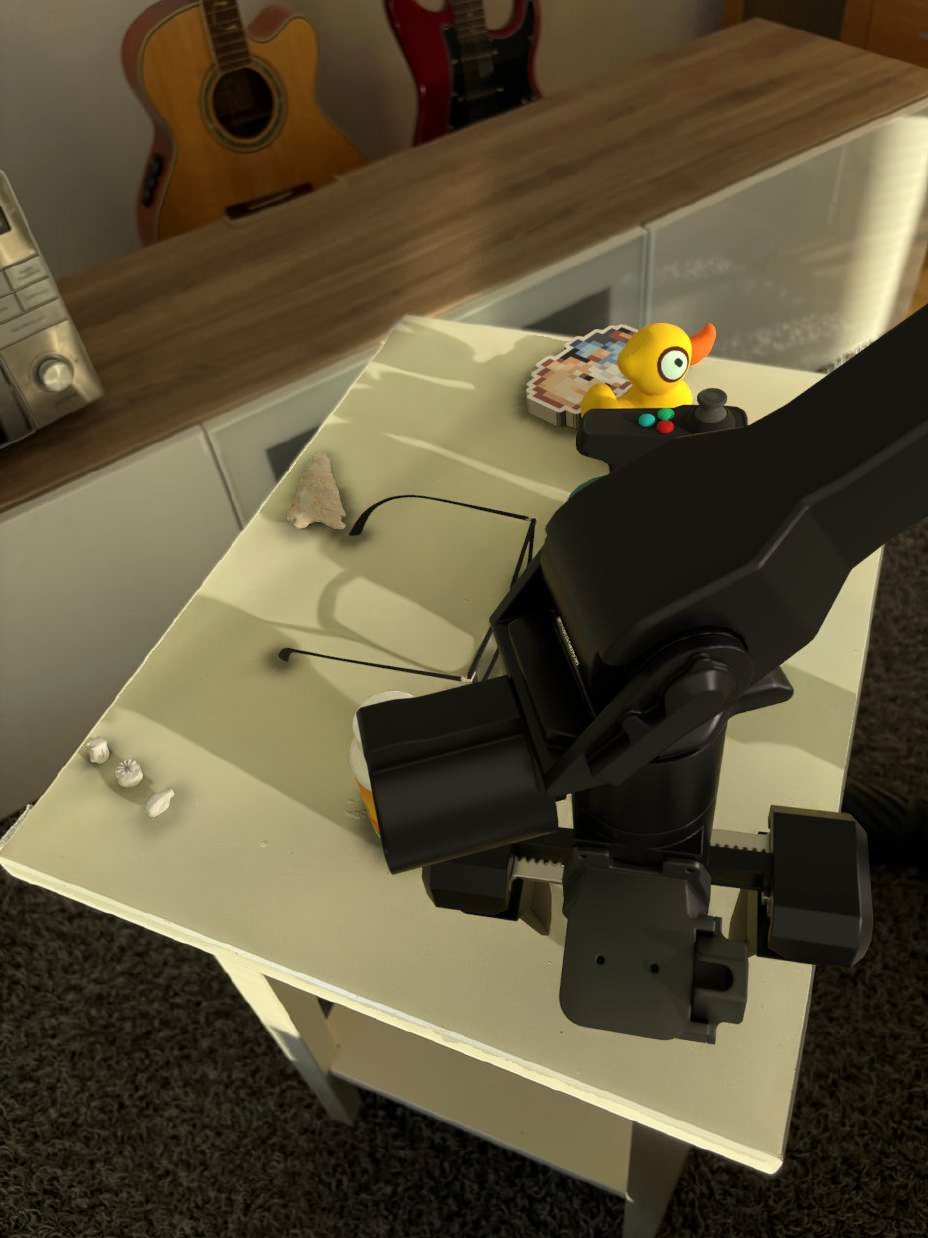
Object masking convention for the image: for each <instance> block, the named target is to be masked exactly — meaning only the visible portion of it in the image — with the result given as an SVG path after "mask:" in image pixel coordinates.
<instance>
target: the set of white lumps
mask: <svg viewBox="0 0 928 1238" xmlns="http://www.w3.org/2000/svg"><path fill="white" fill-rule="evenodd" d="M85 746H86V747H87V752H88V753H87V754H88V755H89V761H90V762H91V763H96V764H99V765H101V764H103V763H105V762H106V761H107V760H108V759H109V757H110V750H109V748H108V740H107V739H106V738H105V737H104V736H102V735H98V736H96V737H94V738H93V739H91V740H89V741H87V742H85ZM114 774H115V778H116V780H117V782H118V784H119V786H121V787H123V788H125V789H126V788H127V789H130V788H135V787H136V786H137V785H139V784H140V783H141V782H142V780H143V777H144V775H143V771H142V768H141V766H140V764H139V763H138V762H136V760H131V758H130V759H128V760H125V759H123V762H118V766H116V768H115V773H114ZM175 794H176V793H175V792H174V790H173V789H172V788H168V790H166V791H160V792H157V793H153V794H152V795H151V796H150V798H149V799H148V800H146V801H145V803H144V806H143V811H144V812H145V814H147V815H148V816H149V817H151V818H155V817H158V816H159V815H161V814H162V813H164V812H165V811H167V809H169V808H170V804H171V803H170V801H171V799H172V798H173V797H174V796H175Z"/></svg>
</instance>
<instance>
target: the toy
mask: <svg viewBox="0 0 928 1238" xmlns="http://www.w3.org/2000/svg"><path fill="white" fill-rule="evenodd" d="M639 330H640V329H637V328H634V327H632V326H630V325H627V324H624V323H619V324H618V325H615V324H611V325H608V326H607V327H605V328H603V329H599V328H596V329H593V330H592V331H590V332H589V333H587V334H586V335H584V336H581V335H577V336H575V337H573V338H572V339H570V340H568V341H567V342H566V343H564V344H563V350H562V351H561V352H559V353H558V354H556V355H552V354H550V355H547V356H546V357H544V358H543V359H541V360H540V361H538V362H537V363H535V365H534V367H535V368H534V369H535V370H533V371H531V373H530V380H529V381H527V383H526V390H525V394H526V395H525V396H526V405H527V412H528V413H529V414H531V415H533V416H536V417H537V418H540V419H541V420H543V421H545V422H548V423H550V424H552V425H554V426H556V427H559V428H563V427H565V426H568V427H570V428H573V429H576V430H577V429H578V426H579V423H580V421H581V419H582V417H581V402H582V399H583V397H584V395H585V394H586V392H587V391H588V389H589V388H590V387H591V386H593V385H595V384H598V383H603V384H606V385H608V386H609V387H610V388H611V390H612V391H613V393H614V395H615V397H616V398H618V397H621V396H623V395H624V394H625V393H626V391H627V390H628V389H629V388H630V387H631V386H633V385H632V384H631V383H630V382H629V380H628V379H627V378H626V376H624V375H623V374H622V373H621V372H620V370H619V368H618V365H617V358H618V355H619V353H620V352H621V351H622V349H623V348H624V347H625V345H626V343H627V342H628V341H629V339H630V338H631V337H632V336H633V335H634V334H635V333H636V332H637V331H639Z"/></svg>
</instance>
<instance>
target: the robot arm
mask: <svg viewBox="0 0 928 1238" xmlns="http://www.w3.org/2000/svg"><path fill="white" fill-rule="evenodd" d="M604 475H605V476H603V477H601V478H599V479H597V480H596V481H594V482H592V483H590V484H588V485H587V486H585V487H584V488H582V489H581V490H579V491H578V492H576V493H575V494H574V495H573V496H572V497H571V498H569V497H568V498H569V499H568V498H567V500H566V501H565V502H564V503H563V504H562V505H560V506H559V507H558V509H556V511H554V513H552V516H551V518H550V519H549V520H548V522H547V523H546V525H545V527H544V532H545V535H546V536H545V538H544V541H543V544H542V545H541V547H540V548H539V549H538V551H537V552H536V554H535V555H534V556H533V557H532V561H531V562H530V563H529V565H528V566H527V565H526V566H527V567H525V569H524V570H523V571H522V573H521V574H520V575H519V576H518V579H517V581H516V582H515V583H514V585H513V586H512V587H511V589H510V588H509V590H508V592H507V593H506V594H505V595H504V597H503V598H502V599H501V601H500V602H499V603H498V605H497V606H496V607H495V609H494V610H493V612H492V613H491V614H490V615H489V617H488V623H489V627H490V626H491V629H492V632H493V633H492V635H493V638H494V642H495V645H496V648H497V647H498V650H499V656H498V657H499V664H500V669H501V675H499V676H495V677H494V676H493V677H490V678H488V679H487V680H483V681H481V680H478V681H479V682H475V683H472V682H470V683H467V684H464V685H459V686H455V687H451V688H447V689H443V690H439V691H434V692H431V693H427V694H423V695H419V696H413V698H402V699H393V700H388V701H384V702H380V703H376V704H372V705H368V706H364V707H361V708H359V707H358V708H359V709H358V708H357V709H358V711H357V710H356V711H357V712H356V711H355V713H356V717H357V722H358V727H359V733H360V738H361V743H362V749H363V754H364V758H365V761H366V764H367V769H368V774H369V779H370V784H371V790H372V795H373V800H374V806H375V811H376V816H377V821H378V827H379V832H380V837H381V838H380V837H379V838H380V841H381V847H382V851H383V856H384V859H385V862H386V865H387V867H388V870H389V872H390V874H391V875H392V876H394V875H398V874H402V873H406V872H409V871H412V870H413V871H414V870H417V869H421V880H422V883H423V886H424V890H425V894H426V895H427V897H428V899H430V901H431V902H432V904H433V906H434V907H435V908H439V909H444V910H445V909H447V910H451V911H460V912H462V914H465V915H470V916H476V917H483V918H489V919H490V918H491V919H496V920H497V919H498V920H504V921H511V922H518V920H521V921H522V922H524V923H525V924H526V925H527V926H529V927H530V928H531V929H532V930H534V931H535V932H536V933H537V934H539V935H540V936H544V937H549V936H550V932H551V925H552V918H553V915H552V914H553V897H552V896H553V895H552V889H551V884H553V885H559V886H562V895H563V899H562V905H561V914H562V915H563V917H564V918H565V919H566V925H565V926H566V927H565V936H564V937H565V938H564V946H563V955H562V964H561V972H560V982H559V991H558V1001H559V1002H558V1003H559V1006H560V1009H561V1011H562V1013H563V1015H564V1016H565V1017H566V1019H567V1020H568V1021H569V1022H571V1023H572V1024H574V1025H576V1026H579V1027H582V1028H587V1029H593V1030H598V1031H604V1032H611V1033H616V1034H621V1035H628V1036H633V1037H640V1038H645V1039H652V1040H658V1041H671V1040H674V1039H678V1040H683V1041H688V1042H689V1041H690V1042H696V1043H702V1044H706V1043H707V1044H708V1045H712V1046H715V1045H716V1041H717V1031H718V1030H717V1029H718V1026H719V1025H720V1024H722V1023H727V1024H732V1025H740V1024H741V1023H743V1022H744V1017H745V1012H746V1007H747V1003H748V993H749V975H750V974H749V973H750V972H749V971H750V962H749V958H752V957H754V956H756V958H763V959H769V960H775V961H784V962H788V963H789V962H791V963H796V964H797V963H798V964H804V965H810V966H819V965H822V964H823V965H828V966H836V967H844V968H848V969H849V968H853V966H854V965H856V964H857V963H858V962H859V961H861V960H862V959H864V958H865V955H866V954H867V951H868V950H869V949H868V948H869V947H870V944H871V942H872V939H873V928H874V912H873V909H874V908H873V897H872V884H871V870H870V869H871V868H870V855H869V843H868V833H867V832H866V830H865V829H864V828H863V827H862V826H861V824H860V823H859V822H858V820H856V819H855V817H854V816H853V815H852V814H851V813H847V812H838V811H831V810H830V811H829V810H821V809H814V808H813V809H811V808H803V807H793V806H785V805H777V804H776V805H775V804H770V807H769V811H768V815H767V829H768V830H769V831H761V830H758V831H757V833H753V832H743V831H735V830H727V829H721V828H714V821H715V814H716V808H717V807H716V806H717V801H718V793H719V786H720V779H721V772H722V766H723V765H722V763H723V757H724V751H725V745H726V737H727V730H728V723H729V720H730V719H731V718H733V717H735V716H737V715H741V714H744V713H748V712H753V711H756V710H760V709H763V708H767V707H771V706H775V705H779V704H782V703H786V702H788V701H790V700H791V699H792V698H793V696H794V694H795V689H794V687H793V685H792V683H791V681H790V680H789V678H788V677H787V675H786V673H785V672H784V670H783V669H782V667H781V665H783V664H784V663H785V662H787V661H788V660H789V659H791V658H792V657H794V656H795V655H797V653H799V651H802V649H804V648H805V647H806V646H808V645H809V644H810V643H811V642H812V641H813V640H814V639H815V638H816V636H817V635H818V633H819V631H820V630H821V628H822V626H823V625H824V623H825V620H826V619H827V616H828V615H829V613H830V611H831V609H832V608H833V605H834V603H835V601H836V600H837V598H838V596H839V594H840V592H841V590H842V589H843V587H844V585H845V583H846V581H847V579H848V577H849V576H850V573H851V572H852V571H853V569H855V568H856V567H857V566H858V565H860V564H862V562H863V561H864V560H867V558H869V557H870V556H872V554H874V553H875V552H876V551H877V550H879V549H880V548H881V547H883V546H884V545H886V544H887V543H888V542H890V541H892V540H893V539H895V538H896V537H898V536H899V535H901V534H902V533H904V532H905V531H907V530H909V529H910V528H912V527H913V526H915V525H916V524H918V523H919V522H921V521H923V520H924V519H926V518H927V517H928V302H927V303H926V304H924V305H923V306H922V307H920V308H919V309H917V310H916V311H915V312H913V313H912V314H911V315H909V316H908V317H906V318H905V319H903V320H902V321H901V322H899V323H898V324H897V325H895V326H894V327H892V328H891V329H890V330H888V331H887V332H885V333H884V334H883V335H881V336H880V337H878V338H877V339H875V340H874V341H872V342H871V343H870V344H868V345H867V346H865V348H863V349H862V350H859V352H857V353H856V354H854V355H853V356H851V357H850V358H849V359H847V360H845V362H843V363H842V364H840V365H839V366H838V367H836V368H835V369H833V370H832V371H830V372H829V373H828V374H826V375H825V376H823V378H821V379H820V380H818V381H816V383H813V384H812V385H811V386H809V387H808V388H807V389H805V390H804V391H803V392H801V393H800V394H798V395H797V396H795V397H794V398H793V399H791V400H789V402H787V403H786V404H784V405H783V406H781V407H779V408H777V409H775V410H773V411H772V412H770V413H768V414H766V415H765V416H763V417H761V418H759V419H757V420H755V421H754V422H751V423H750V424H748V425H747V426H743V427H737V428H730V429H724V430H718V431H712V432H705V433H699V434H693V435H687V436H680V437H676V438H672V439H670V440H667V441H665V442H664V443H662V444H660V445H658V446H656V447H655V448H653V449H651V450H649V451H647V452H646V453H644V454H642V455H640V456H639V457H637V458H635V459H633V460H631V461H630V462H628V463H626V464H624V465H622V466H621V467H619V468H617V469H615V470H614V471H612V472H609V473H606V474H604ZM560 621H561V623H560ZM562 627H563V628H562ZM564 631H565V632H564ZM565 634H566V635H565ZM568 641H569V642H568ZM569 643H570V645H569ZM570 647H571V648H570ZM571 649H572V650H571ZM572 651H573V652H572ZM573 653H574V655H573ZM574 656H575V657H574ZM575 658H576V660H575ZM576 661H577V662H576ZM577 663H578V664H577ZM568 795H570V801H571V802H570V803H571V817H572V827H564V826H559V813H558V807H557V803H558V802H562V801H566V800H567V798H568V797H567V796H568ZM712 886H716V887H726V888H732V889H739V891H738V895H737V898H736V901H735V904H734V907H733V911H732V914H731V917H730V920H729V927H728V934H727V937H726V936H725V935H724V933H723V917H722V916H718V915H715V916H713V915H710V914H709V911H710V904H711V896H712V895H711V891H712Z"/></svg>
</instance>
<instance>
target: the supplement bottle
mask: <svg viewBox="0 0 928 1238" xmlns="http://www.w3.org/2000/svg"><path fill="white" fill-rule="evenodd" d="M413 697H414V695H412V694H410V693H407V692H404V691H401V690H400V691H398V690H387V691H382V692H379V693H376V694H374V695H371V697H369V698H367V699H365V701H364V702H362V703H361V704H360V705H359V706H358V708H357V709H356V711H355V713H354V715H353V719H352V723H351V725H352V734H353V736H354V737H353V739H352V743H351V745H350V750H349V762H350V767H351V770H352V774H353V777H354V779H355V782H356V784H357V787H358V790H359V792H360V796H361V798H362V801H363V803H364V806H365V809H366V812H367V816H368V818H369V820H370V823H371V825H372V827H373V829H374V832H375V833H376V835H377V836H378V837H379V838H380V839H381V837H380V832H379V827H378V821H377V816H376V811H375V806H374V800H373V795H372V790H371V784H370V779H369V774H368V769H367V764H366V761H365V758H364V754H363V749H362V743H361V738H360V733H359V727H358V722H357V717H356V712H357V711H358V709H359V708H361V707H364V706H368V705H372V704H376V703H380V702H384V701H388V700H393V699H402V698H413Z"/></svg>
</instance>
